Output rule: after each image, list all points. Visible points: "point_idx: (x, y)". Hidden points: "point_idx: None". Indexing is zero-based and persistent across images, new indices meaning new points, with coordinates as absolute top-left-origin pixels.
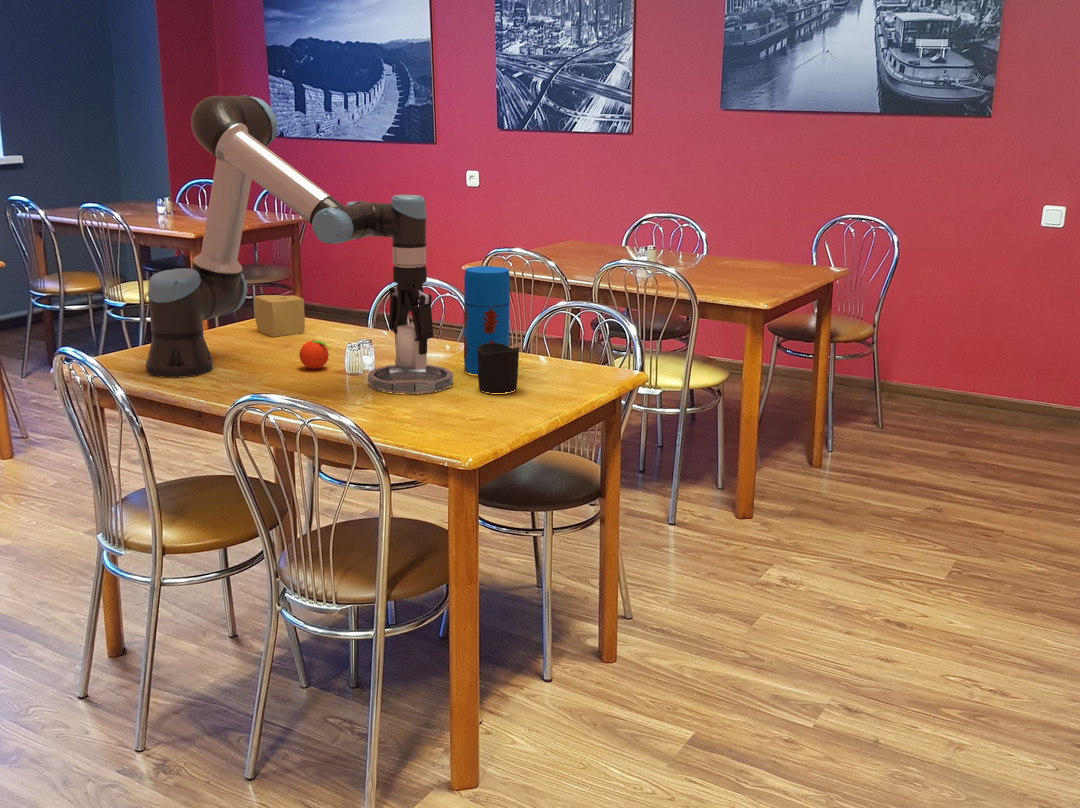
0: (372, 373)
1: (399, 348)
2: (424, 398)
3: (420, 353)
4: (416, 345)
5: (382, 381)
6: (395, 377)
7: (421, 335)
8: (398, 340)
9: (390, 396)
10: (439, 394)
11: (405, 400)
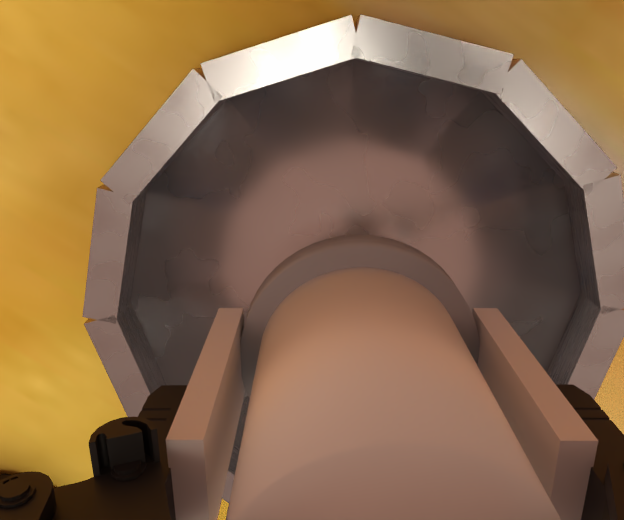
0: (530, 111)
1: (379, 313)
2: (31, 176)
3: (177, 389)
4: (181, 408)
5: (291, 42)
6: (473, 265)
7: (47, 501)
8: (412, 353)
9: (172, 26)
10: (70, 291)
11: (41, 53)
